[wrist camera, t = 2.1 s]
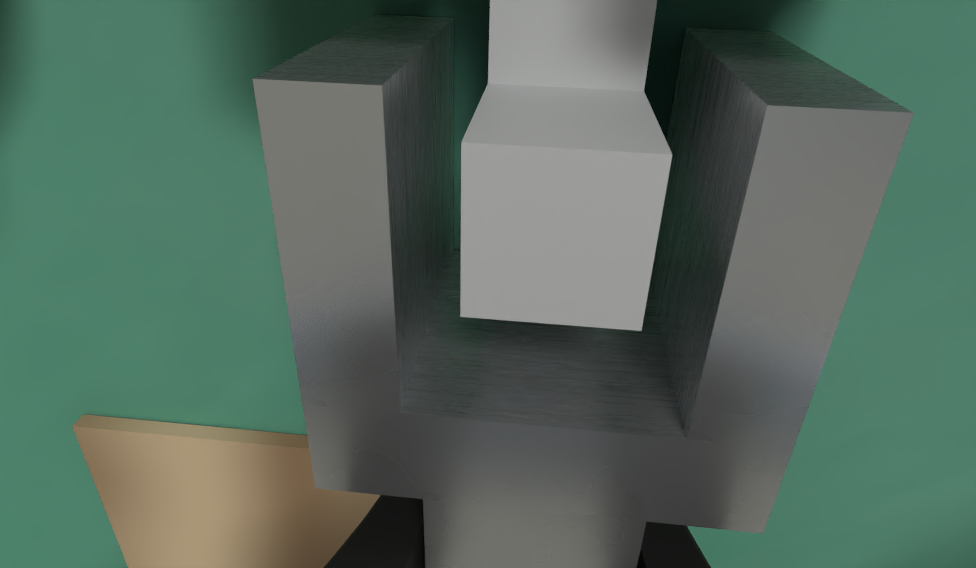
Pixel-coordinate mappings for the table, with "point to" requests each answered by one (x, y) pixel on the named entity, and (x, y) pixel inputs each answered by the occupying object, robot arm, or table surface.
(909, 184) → the table surface
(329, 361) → the steel fork
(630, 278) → the vise
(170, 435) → the cork mat
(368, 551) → the robot arm
